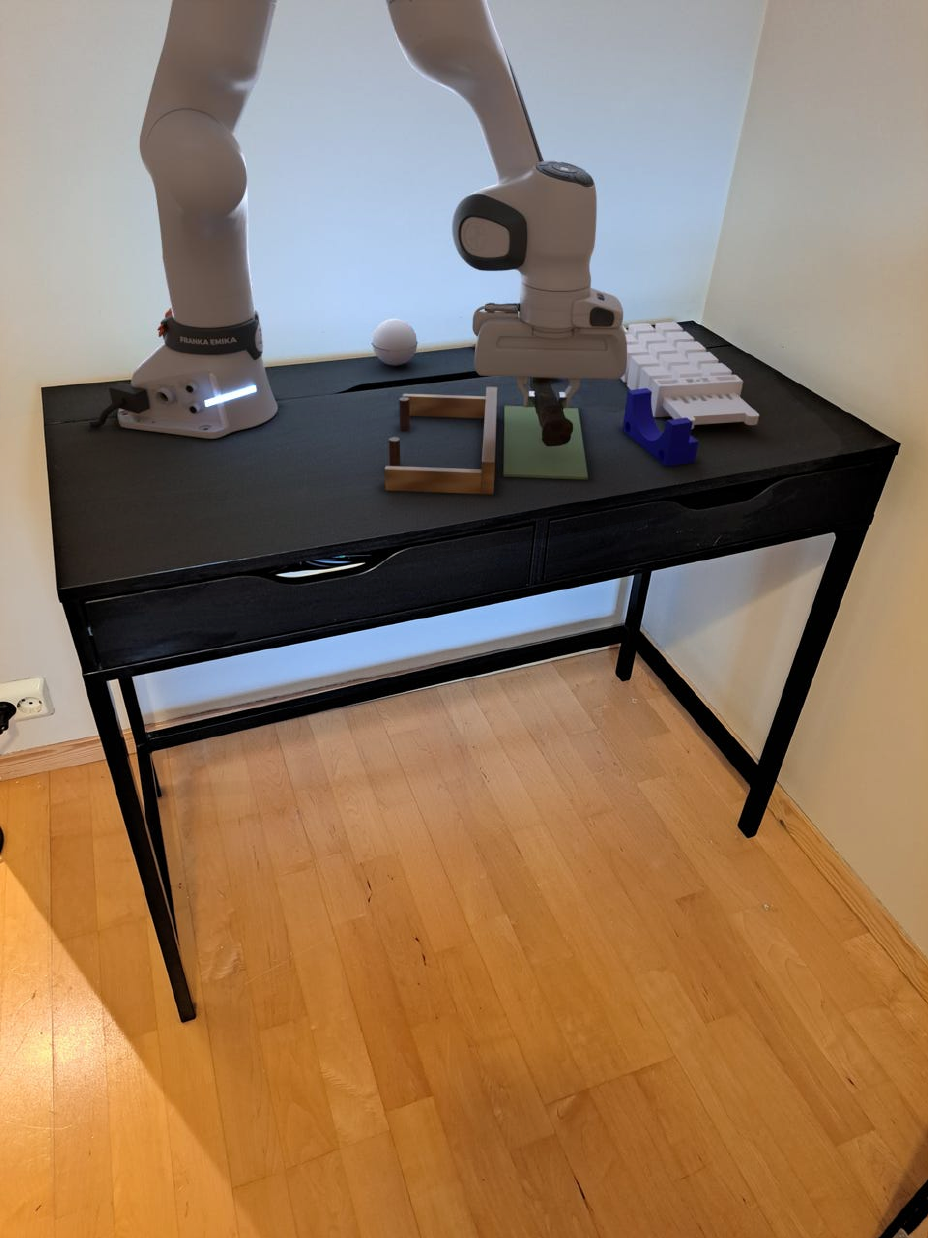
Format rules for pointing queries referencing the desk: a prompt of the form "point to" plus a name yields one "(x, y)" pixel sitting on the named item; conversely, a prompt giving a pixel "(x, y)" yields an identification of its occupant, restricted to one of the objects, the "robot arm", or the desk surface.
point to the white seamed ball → (394, 342)
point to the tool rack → (445, 477)
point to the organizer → (683, 376)
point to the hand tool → (550, 413)
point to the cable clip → (658, 431)
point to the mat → (540, 447)
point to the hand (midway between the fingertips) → (546, 406)
